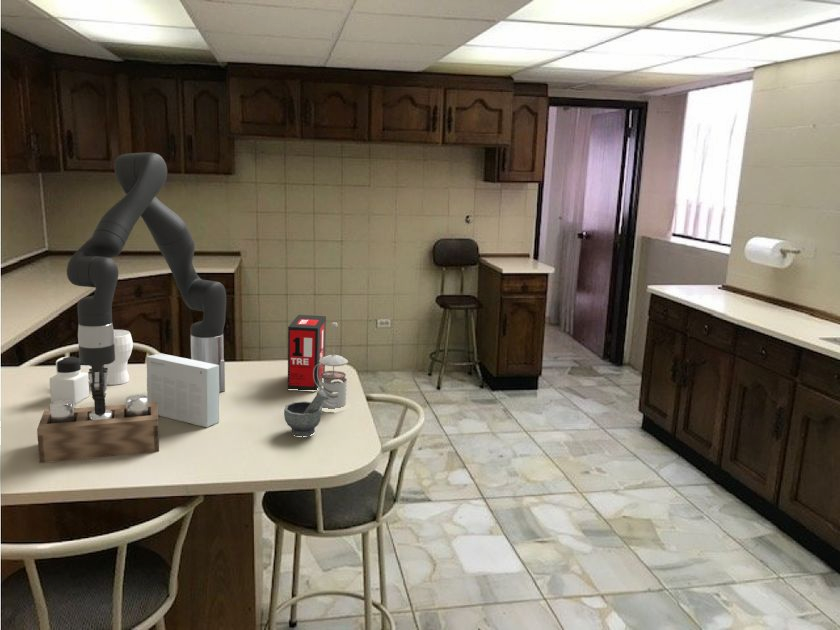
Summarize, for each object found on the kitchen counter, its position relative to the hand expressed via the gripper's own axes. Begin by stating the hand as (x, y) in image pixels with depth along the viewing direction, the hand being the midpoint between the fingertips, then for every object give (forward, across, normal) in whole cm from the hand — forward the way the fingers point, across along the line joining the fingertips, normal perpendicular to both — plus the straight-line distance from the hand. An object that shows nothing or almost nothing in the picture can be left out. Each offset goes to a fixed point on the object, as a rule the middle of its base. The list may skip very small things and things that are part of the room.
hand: (100, 413), depth 161 cm
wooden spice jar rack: (+8, 0, 0) cm, 9 cm away
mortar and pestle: (+9, -4, -48) cm, 49 cm away
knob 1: (+2, 0, +8) cm, 8 cm away
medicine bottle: (+9, +36, +10) cm, 38 cm away
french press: (+9, +14, -59) cm, 61 cm away
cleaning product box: (+9, +36, -57) cm, 68 cm away
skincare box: (+9, +15, -19) cm, 26 cm away
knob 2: (+2, 0, -8) cm, 8 cm away
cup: (+9, +50, -1) cm, 51 cm away
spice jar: (+5, 0, 0) cm, 5 cm away
